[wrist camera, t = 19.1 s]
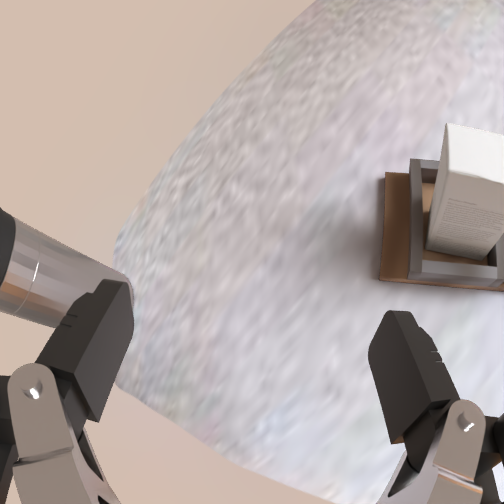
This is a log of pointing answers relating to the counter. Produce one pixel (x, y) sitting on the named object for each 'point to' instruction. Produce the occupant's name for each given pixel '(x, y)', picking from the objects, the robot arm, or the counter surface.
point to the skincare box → (467, 194)
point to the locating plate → (414, 238)
